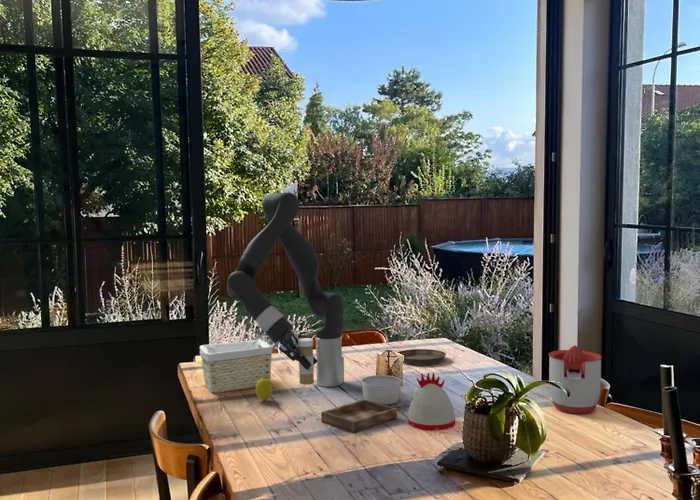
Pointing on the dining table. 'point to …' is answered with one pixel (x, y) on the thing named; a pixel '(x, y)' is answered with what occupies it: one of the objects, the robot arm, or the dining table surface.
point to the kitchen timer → (431, 406)
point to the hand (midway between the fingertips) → (312, 365)
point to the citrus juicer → (575, 379)
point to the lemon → (264, 388)
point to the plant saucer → (422, 356)
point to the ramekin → (381, 389)
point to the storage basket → (235, 365)
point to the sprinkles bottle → (307, 351)
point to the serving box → (358, 415)
